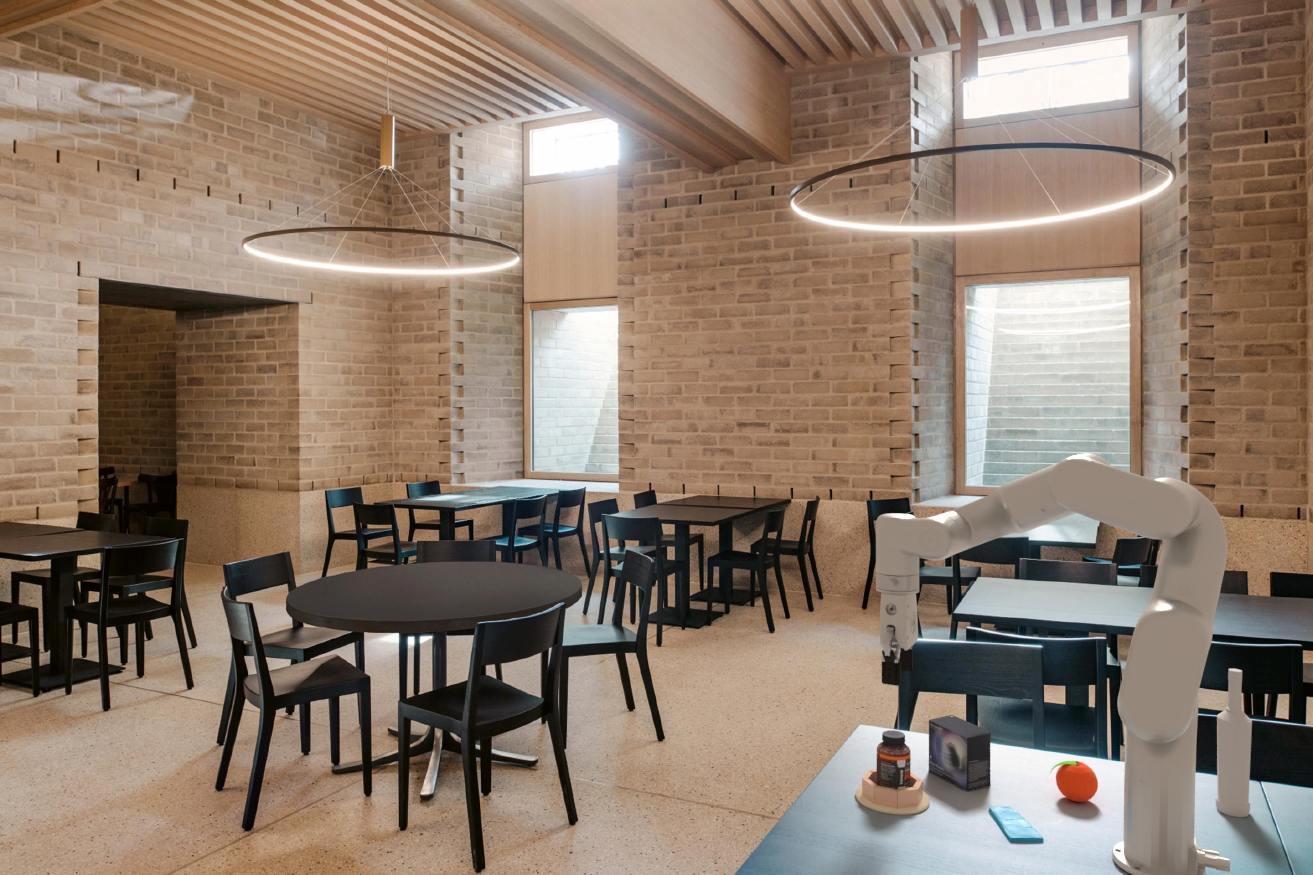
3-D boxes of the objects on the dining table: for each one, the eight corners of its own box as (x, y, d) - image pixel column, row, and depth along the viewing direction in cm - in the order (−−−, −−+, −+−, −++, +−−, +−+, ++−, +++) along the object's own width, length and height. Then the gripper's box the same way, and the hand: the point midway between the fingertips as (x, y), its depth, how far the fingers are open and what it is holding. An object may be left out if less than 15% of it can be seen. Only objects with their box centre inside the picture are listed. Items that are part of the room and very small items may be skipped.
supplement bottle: (911, 803, 160) (911, 740, 159) (877, 800, 161) (877, 738, 161) (909, 789, 166) (909, 728, 165) (875, 787, 167) (875, 726, 166)
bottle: (1216, 813, 157) (1219, 671, 156) (1214, 802, 162) (1216, 664, 161) (1251, 820, 155) (1254, 675, 154) (1248, 808, 159) (1251, 668, 158)
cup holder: (936, 792, 166) (936, 773, 166) (921, 820, 154) (921, 800, 154) (866, 778, 172) (866, 760, 172) (846, 805, 161) (847, 785, 160)
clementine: (1053, 805, 160) (1053, 766, 160) (1046, 789, 167) (1046, 751, 167) (1101, 810, 158) (1102, 770, 158) (1092, 794, 165) (1093, 755, 165)
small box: (925, 771, 176) (926, 718, 175) (951, 765, 178) (952, 713, 178) (965, 792, 166) (966, 736, 166) (992, 786, 169) (992, 730, 168)
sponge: (1021, 806, 158) (987, 802, 159) (1046, 839, 146) (1010, 834, 147) (1020, 815, 159) (986, 810, 159) (1045, 848, 147) (1009, 843, 147)
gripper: (908, 592, 152) (908, 693, 153) (928, 576, 168) (928, 667, 168) (864, 589, 156) (864, 687, 156) (888, 573, 171) (888, 662, 172)
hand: (897, 676), depth 162 cm, fingers open, 9 cm apart
